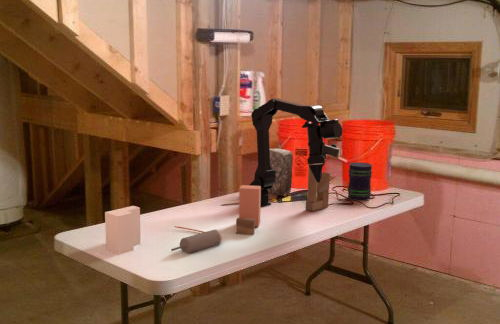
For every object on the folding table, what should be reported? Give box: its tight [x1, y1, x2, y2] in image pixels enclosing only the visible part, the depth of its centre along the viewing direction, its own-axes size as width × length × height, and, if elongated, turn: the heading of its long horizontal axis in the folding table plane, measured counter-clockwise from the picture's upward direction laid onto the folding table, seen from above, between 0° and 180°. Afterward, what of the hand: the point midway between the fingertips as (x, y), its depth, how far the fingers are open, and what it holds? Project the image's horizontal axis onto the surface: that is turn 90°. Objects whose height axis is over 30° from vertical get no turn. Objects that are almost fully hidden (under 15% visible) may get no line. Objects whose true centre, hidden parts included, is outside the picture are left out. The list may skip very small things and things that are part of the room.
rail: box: [235, 217, 256, 236], centre depth 193 cm, size 20×6×5 cm, turn 171°
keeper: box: [238, 184, 262, 228], centre depth 194 cm, size 5×7×14 cm
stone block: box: [268, 148, 294, 196], centre depth 241 cm, size 13×7×20 cm, turn 40°
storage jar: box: [347, 161, 373, 202], centre depth 236 cm, size 10×10×15 cm
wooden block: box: [305, 166, 331, 212], centre depth 217 cm, size 4×11×18 cm, turn 135°
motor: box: [171, 226, 223, 255], centre depth 176 cm, size 23×22×5 cm
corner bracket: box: [104, 205, 141, 255], centre depth 170 cm, size 11×11×12 cm
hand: (319, 180), depth 203 cm, fingers open, 9 cm apart
